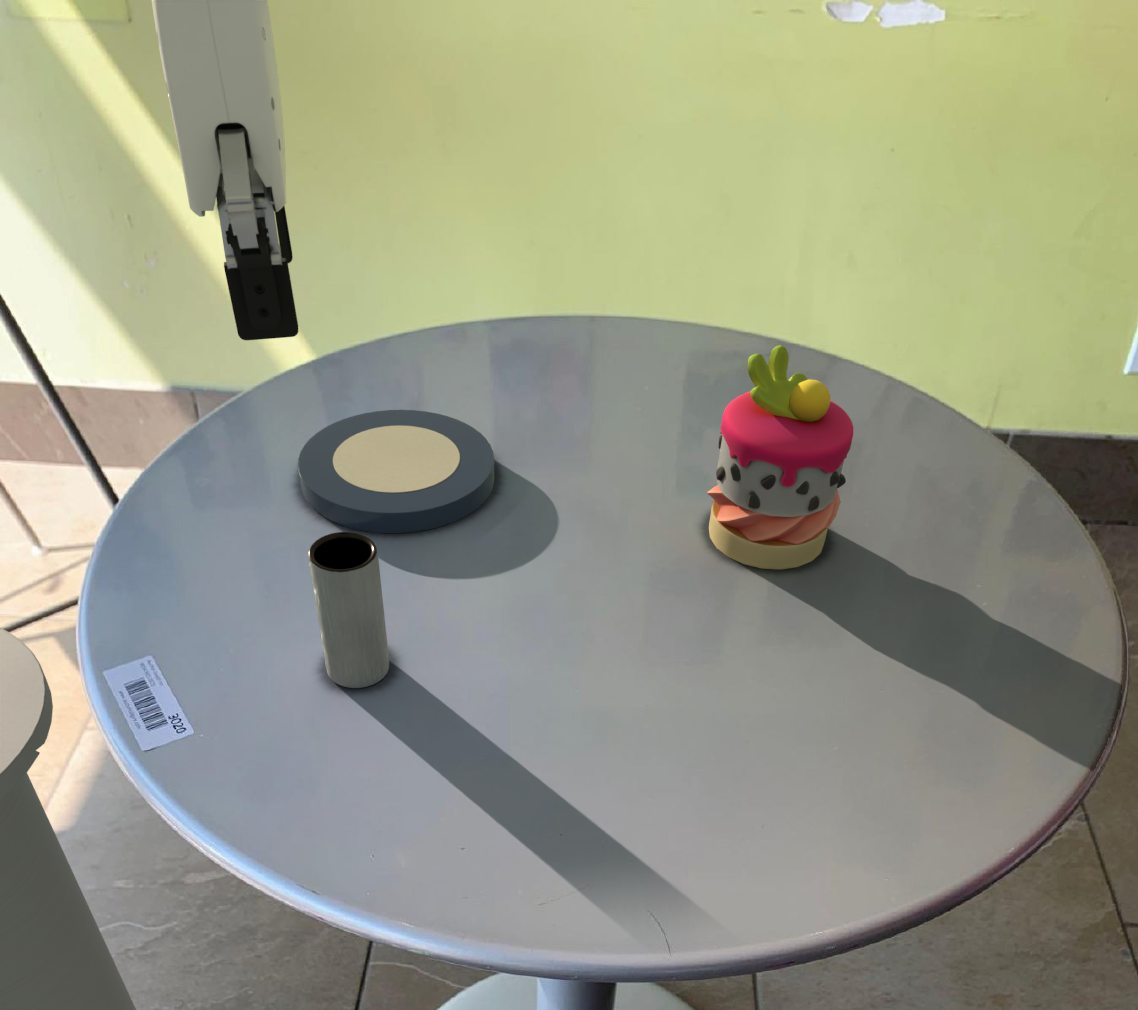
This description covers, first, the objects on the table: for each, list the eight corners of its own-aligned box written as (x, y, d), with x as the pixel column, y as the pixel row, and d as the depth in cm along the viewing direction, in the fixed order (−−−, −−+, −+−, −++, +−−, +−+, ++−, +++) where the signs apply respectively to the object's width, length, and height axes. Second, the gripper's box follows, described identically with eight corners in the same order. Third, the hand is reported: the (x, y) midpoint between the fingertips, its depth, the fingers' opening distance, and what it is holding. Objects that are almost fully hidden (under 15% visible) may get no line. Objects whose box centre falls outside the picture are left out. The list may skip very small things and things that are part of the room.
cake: (845, 523, 96) (887, 357, 85) (802, 587, 89) (841, 416, 78) (733, 488, 99) (760, 324, 88) (684, 546, 93) (706, 377, 82)
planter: (401, 660, 81) (390, 543, 74) (366, 697, 78) (351, 579, 71) (350, 640, 83) (334, 523, 75) (313, 676, 80) (293, 558, 72)
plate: (303, 541, 91) (299, 520, 90) (298, 435, 103) (295, 415, 101) (507, 525, 94) (507, 504, 92) (480, 423, 105) (480, 403, 104)
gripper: (128, -102, 56) (203, 243, 69) (99, -24, 45) (196, 375, 57) (278, -105, 58) (326, 235, 70) (288, -29, 46) (343, 363, 58)
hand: (267, 297), depth 64 cm, fingers open, 9 cm apart
